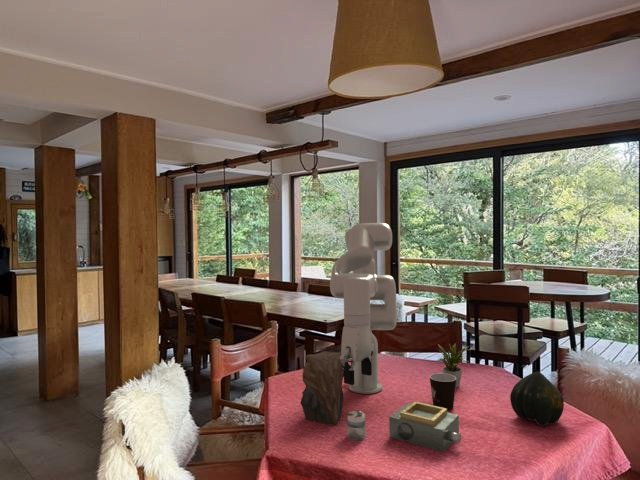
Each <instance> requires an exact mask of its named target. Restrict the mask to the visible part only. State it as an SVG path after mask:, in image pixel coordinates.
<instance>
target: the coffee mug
mask: <svg viewBox="0 0 640 480" xmlns="http://www.w3.org/2000/svg"><path fill="white" fill-rule="evenodd" d="M429 384H430V390H431V396H432V397H431V398H432V405H433V406H438V407H442V408H447V412H449V411H452V410H453V409H454V403H455V395H456V388H455V387H456V377H455V376H453V375H450V374H445V373H443V372H438V373H432V374H430V375H429Z"/></svg>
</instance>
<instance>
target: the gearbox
mask: <svg viewBox="0 0 640 480" xmlns="http://www.w3.org/2000/svg"><path fill="white" fill-rule="evenodd" d="M459 416H460V415H459V414H455V413H453V412H452V413H451V412H449V411H447V408H442V407H438V406H433V404H432V405H431V404H428V403H424V402H418V401H413V402H412V403H406V404H404V405H403V406H402V407H400V408H399V409H398V410H396V411H394V412H393V413H392V414H391V415H389V417H388V419H389V420H388V425H389V426H388V427H389V428H388V429H389V432H388V433H389V438H391V439H393V440H398V441H401V442H404V443H407V444H412V445H416V446H419V447H422V448H426V449H430V450H433V451H436V452H441V453H445V451H446V450H448V449H449V447H450V446H451V445H452V444H453V443H457V444H461V441H462V434H461V433H460V419H459V418H460V417H459Z"/></svg>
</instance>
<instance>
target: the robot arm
mask: <svg viewBox="0 0 640 480" xmlns="http://www.w3.org/2000/svg"><path fill="white" fill-rule="evenodd" d="M344 234H345V235H344V241H345V246H346V249H347V251H346V252H345V253H343V254H342V255H341V256H339V258H337V259H336V261H335V262H334V264H333V265H332V268H331V272H330V280H329V290H330V294H331V295H332V296H333V297H334V298H337V299H343V324H344V326H343V327H342V334H341V345H340V346H341V356H340V361H341V366H342V369H343V370H344V377H343V384H346V385H348V389H349V391H351V392H353V393H356V394H364V395H365V394H366V395H370V394H377V393H379V392H382V390H383V384H382V383H381V382H379V354H378V353H379V350H378V349H379V348H378V346H379V344H378V339H377V337H376V336H375V335H374V334H373V332H372V331H391V330H392V331H393V330H394V329H395V328H396V326H397V323H398V322H397V321H398V318H397V316H398V315H397V313H398V312H397V287H396V286H397V285H396V281H395V279H394V277H393V276H392V275H389V274H376V261H375V258H374V251H388V250H390V249H391V248H392V245H393V231H392V228H391V226H390V225H389V224H388V223H385V222H363V223H356V224H354V225H353V226H351V228H350V229H348V230H347V231H345V233H344ZM351 272H352V273H351ZM371 301H381V302H383V303H371Z"/></svg>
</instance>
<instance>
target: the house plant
mask: <svg viewBox="0 0 640 480" xmlns="http://www.w3.org/2000/svg"><path fill="white" fill-rule="evenodd" d="M456 343H457V342H454V344H453V345H452V346H451V343H449V342H448V344H449V345H448V347H449V350H448V351H446V349H445V348H444V347H442V345H440V344H438V347H439V348H440V349H438V351H439V352H440V354H442V356H443V358H439V359H437V360H436V362H437V361H439V362H443V364H444V365H445V366H443V367H442V373H445V374H450V375H453V376H455V377H456V387H455V389H456V388H459V387H460V385H461V380H462V373H463V368H461V367H460V366H462V365H463V363H468V360H464V358H463V357H465V356H466V355H467V354H464V352H465V351H472V349H471V348H469V347H470V345H469V346H468V345H467V346H465V347H463V348H462V349H461V350H460V351H457V344H456ZM468 348H469V349H468ZM462 362H463V363H462ZM460 363H461V364H460ZM458 364H460V366H458Z"/></svg>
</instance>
